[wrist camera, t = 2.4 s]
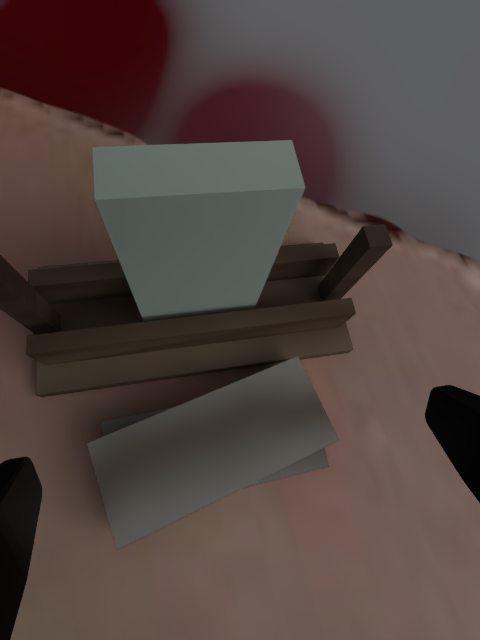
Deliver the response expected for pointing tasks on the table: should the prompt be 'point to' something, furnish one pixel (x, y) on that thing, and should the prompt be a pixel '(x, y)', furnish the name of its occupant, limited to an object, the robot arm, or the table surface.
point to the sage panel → (197, 220)
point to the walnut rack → (183, 319)
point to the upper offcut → (207, 449)
